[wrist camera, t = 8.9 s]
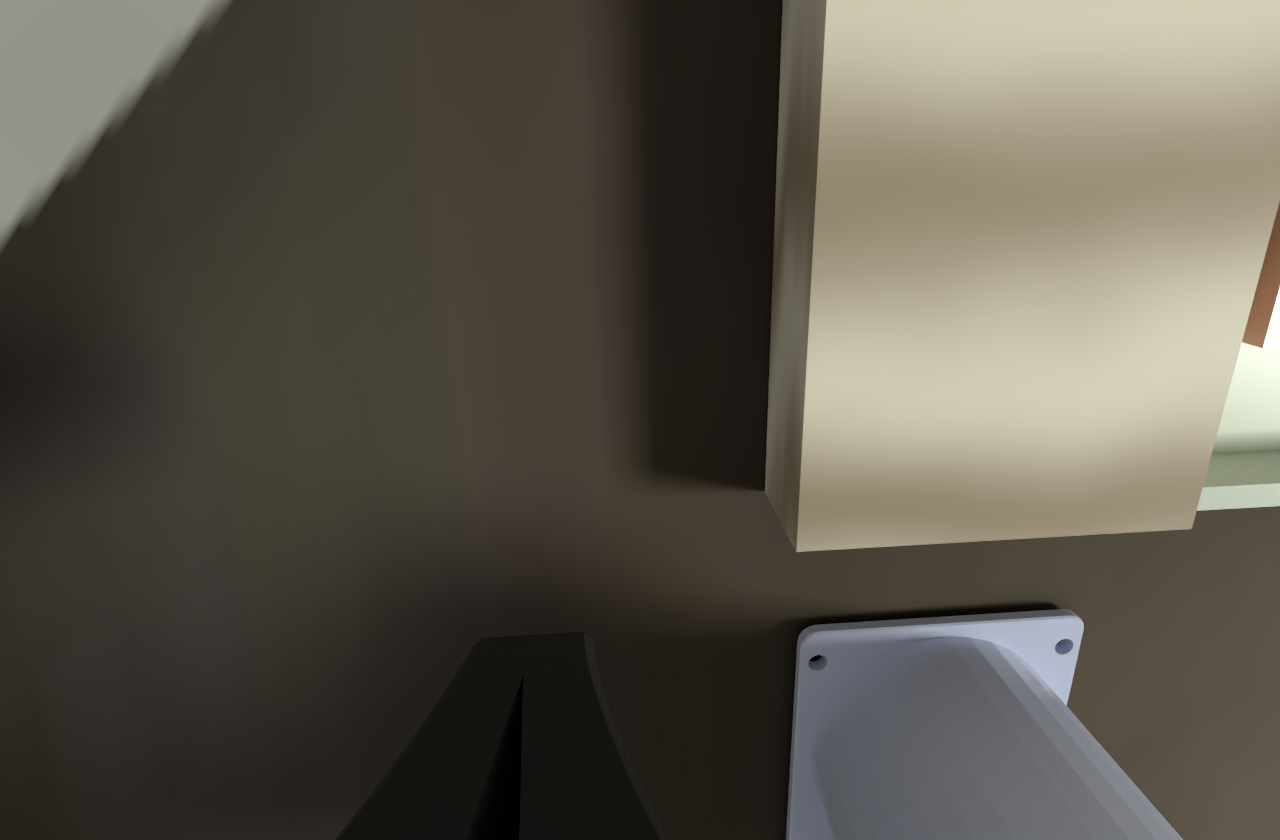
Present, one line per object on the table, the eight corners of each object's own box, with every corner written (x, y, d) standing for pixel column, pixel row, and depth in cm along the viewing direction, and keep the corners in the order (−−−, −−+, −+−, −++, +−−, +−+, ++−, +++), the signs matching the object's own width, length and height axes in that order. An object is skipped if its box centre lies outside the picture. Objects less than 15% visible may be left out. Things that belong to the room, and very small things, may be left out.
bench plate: (1101, 473, 19) (1191, 529, 16) (764, 491, 18) (796, 552, 16) (1240, -177, 14) (1403, -262, 11) (788, -174, 14) (841, -262, 11)
